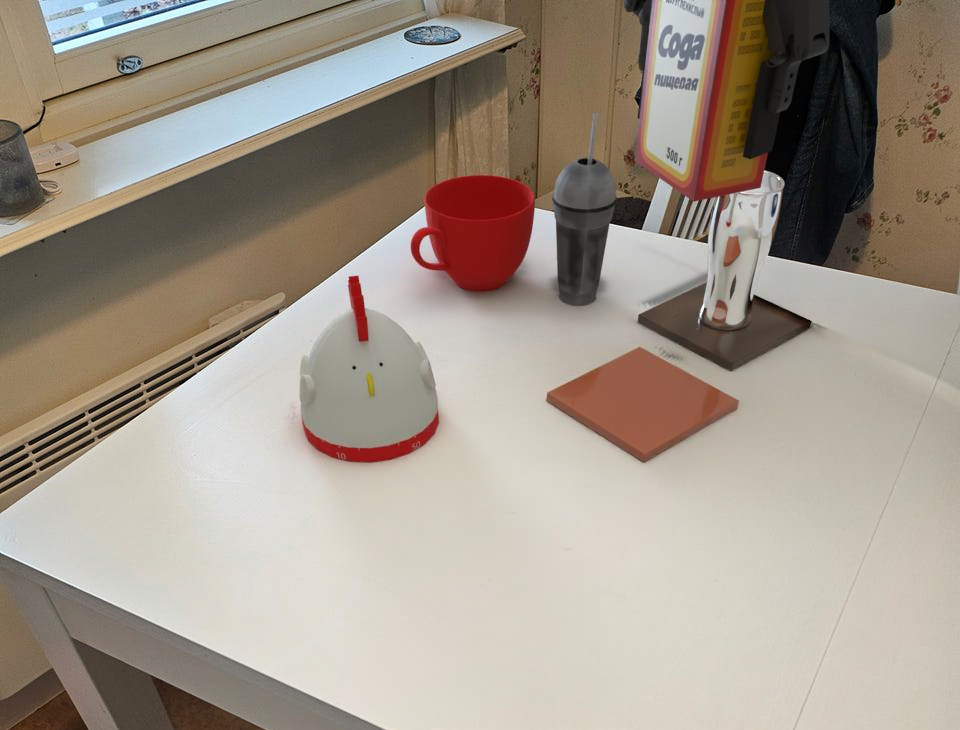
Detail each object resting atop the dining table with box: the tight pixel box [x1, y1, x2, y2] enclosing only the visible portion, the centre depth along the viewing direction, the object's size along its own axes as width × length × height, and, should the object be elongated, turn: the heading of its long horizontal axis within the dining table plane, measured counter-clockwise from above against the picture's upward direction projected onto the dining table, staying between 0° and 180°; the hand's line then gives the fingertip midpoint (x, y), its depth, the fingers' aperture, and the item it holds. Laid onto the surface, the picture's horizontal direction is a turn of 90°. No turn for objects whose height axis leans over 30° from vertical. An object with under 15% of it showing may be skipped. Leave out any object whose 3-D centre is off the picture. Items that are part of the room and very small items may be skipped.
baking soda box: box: [634, 0, 772, 203], centre depth 71 cm, size 10×6×16 cm
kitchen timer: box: [299, 275, 440, 463], centre depth 87 cm, size 14×14×15 cm
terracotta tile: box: [545, 346, 740, 463], centre depth 93 cm, size 14×14×1 cm
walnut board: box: [636, 281, 812, 372], centre depth 104 cm, size 14×14×1 cm
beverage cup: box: [551, 111, 618, 307], centre depth 102 cm, size 7×7×20 cm
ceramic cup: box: [410, 174, 536, 293], centre depth 108 cm, size 13×17×10 cm
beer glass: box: [698, 169, 785, 330], centre depth 98 cm, size 7×7×15 cm
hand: (702, 134), depth 75 cm, fingers closed on baking soda box, 11 cm apart
